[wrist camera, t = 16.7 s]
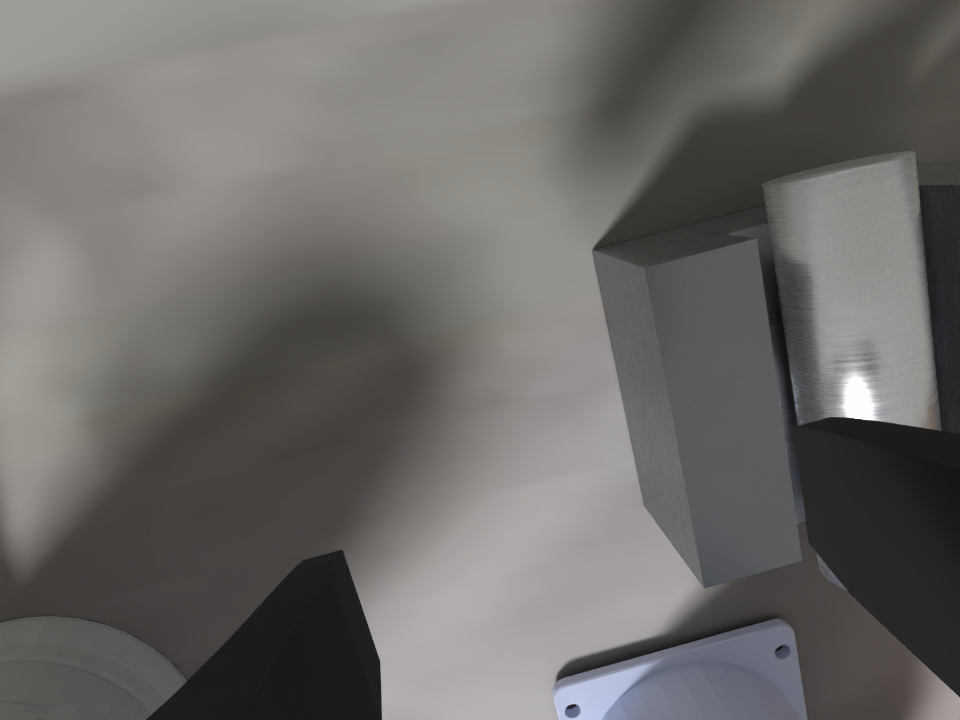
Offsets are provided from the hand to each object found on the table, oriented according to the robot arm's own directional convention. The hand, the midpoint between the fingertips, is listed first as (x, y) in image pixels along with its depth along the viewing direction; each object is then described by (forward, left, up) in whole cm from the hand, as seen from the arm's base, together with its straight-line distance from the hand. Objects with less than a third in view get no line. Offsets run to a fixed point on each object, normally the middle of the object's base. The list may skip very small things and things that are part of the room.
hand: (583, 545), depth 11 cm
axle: (-1, -8, -7) cm, 11 cm away
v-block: (-1, -8, -9) cm, 12 cm away
